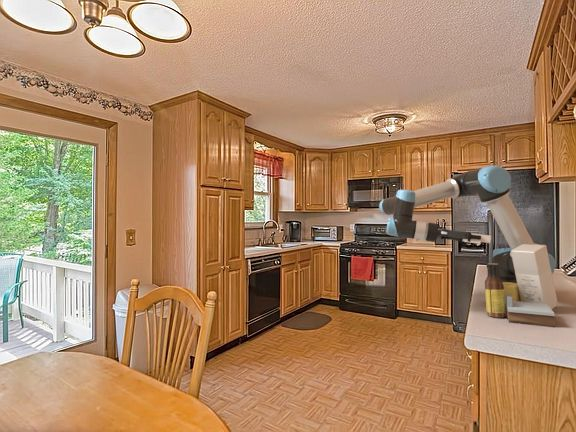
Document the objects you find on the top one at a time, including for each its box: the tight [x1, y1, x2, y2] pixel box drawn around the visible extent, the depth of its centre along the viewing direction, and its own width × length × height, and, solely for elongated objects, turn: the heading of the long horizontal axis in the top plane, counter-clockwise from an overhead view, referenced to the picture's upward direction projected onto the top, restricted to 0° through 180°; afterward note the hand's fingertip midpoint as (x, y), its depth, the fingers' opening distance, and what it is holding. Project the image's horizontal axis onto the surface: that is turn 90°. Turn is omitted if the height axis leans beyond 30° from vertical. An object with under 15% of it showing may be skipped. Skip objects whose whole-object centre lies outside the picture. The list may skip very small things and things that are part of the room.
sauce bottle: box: [484, 262, 506, 319], centre depth 126 cm, size 7×6×20 cm
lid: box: [505, 294, 556, 317], centre depth 121 cm, size 15×13×4 cm
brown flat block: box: [505, 304, 556, 328], centre depth 121 cm, size 14×13×4 cm
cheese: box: [502, 282, 521, 302], centre depth 139 cm, size 10×11×10 cm
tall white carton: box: [511, 244, 559, 311], centre depth 133 cm, size 9×9×25 cm
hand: (485, 240), depth 128 cm, fingers open, 13 cm apart
